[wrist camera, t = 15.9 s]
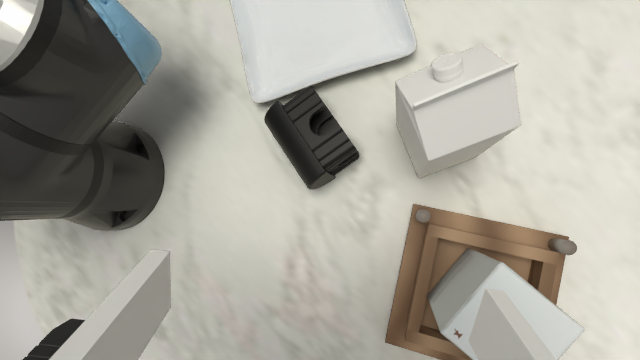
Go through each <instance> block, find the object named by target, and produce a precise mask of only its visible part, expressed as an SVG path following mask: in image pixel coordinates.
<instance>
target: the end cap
mask: <svg viewBox="0 0 640 360" xmlns="http://www.w3.org/2000/svg"><path fill="white" fill-rule="evenodd" d="M265 123H266V125H267V126H268V128H269V129H270V131H271V132H272V134H273V136H274V137H275V139H276V140H277V142H278V143H279V145H280V146H281V148H282V149H283V151H284V152H285V154H286V155H287V157H288V158H289V160H290V161H291V163H292V165H293V166H294V168H295V169H296V171H297V172H298V174H299V175H300V177H301V178H302V180H303V181H304V183H305V184H306V186H307V187H308V188H309V189H316V188H318V187H320V186H322V185H324V184H326V183H328V182H329V181H331V180H333V179H334V178H336V177H335V174H337V173H338V172H339V171H341V170H342V169H344V168H345V167H347V166H348V165H349V164H351V163H352V162H354V161H355V160H357V159H358V158H359V152H358V151H357V149H356V148H355V147H354V145H353V144H352V142H351V141H350V139H349V138H348V137H347V135H346V134H345V132H344V131H343V130H342V128H341V127H340V125H339V124H338V123H337V121H336V120H335V118H334V117H333V115H332V114H331V113H330V111H329V110H328V108H327V107H326V105H325V104H324V103H323V101H322V100H321V98H320V97H319V95H318V94H317V93H316V91H315V90H314V88H313V87H312V86H311V85H310V86H309V87H308V88H306V89H305V90H304V91H302V92H301V93H300V94H298V95H297V96H296V97H294V98H293V99H292V100H290V101H289V102H288V103H286V104H285V105H284V106H283V105H282V104H281V103H280V102H279V101H277V102H276V103H274V104H273V105H272V106H271V107H270V109H269V110H268V111H267V113H266V115H265Z"/></svg>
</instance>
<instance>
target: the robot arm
mask: <svg viewBox="0 0 640 360" xmlns="http://www.w3.org/2000/svg"><path fill="white" fill-rule="evenodd" d="M160 58H161V46H160V44H159V42H158V40H157V39H156V38H155V37H154V36H153V35H152V34H151V33H150V32H149V31H148V30H147V29H146V28H145V27H144V26H143V25H142V24H141V23H140V22H139V21H138V20H137V19H136V18H135V17H134V16H133V15H132V14H131V13H130V12H129V11H128V10H127V9H126V8H125V7H123V6H122V5H121V4H120V3H119V2H118V1H117V0H0V221H3V220H4V221H5V220H30V219H60V218H63V219H66V220H69V221H71V222H74V223H77V224H80V225H83V226H86V227H89V228H92V229H96V230H120V229H126V228H129V227H131V226H134V225H136V224H137V223H139V222H140V221H142V220H143V219H144V218H145V217H146V216H147V215H148V214H149V213H150V212H151V211H152V209H153V208H154V206H155V205H156V203H157V201H158V199H159V196H160V194H161V191H162V187H163V181H164V166H163V160H162V157H161V154H160V151H159V149H158V147H157V145H156V144H155V142H154V141H153V140H152V139H151V137H150V136H149V135H147V134H146V133H145V132H143V131H142V130H140V129H138V128H135V127H132V126H129V125H126V124H123V123H117V122H112V121H113V120H114V118H115V117H116V116H117V115H118V114H119V113H120V111H121V110H122V109H123V108H124V107H125V105H126V104H127V103H128V102H129V101H130V100H131V98H132V97H133V96H134V95H135V94H136V93H137V91H138V90H139V89H140V88H141V87H142V86H143V85H145V84H146V82H147V78H148V76H149V75H150V74H151V72H152V71H153V69H154V68H155V67H156V65H157V64H158V63H159V61H160ZM170 308H171V284H170V251H161V250H153V249H151V250H150V251H149V252H148V253H147V254H146V255H145V256H144V258H143V259H142V260H141V261H140V262H139V263H138V264H137V265H136V266H135V267H134V268H133V269H132V271H131V272H130V273H129V274H128V275H127V276H126V277H125V278H124V279H123V280H122V281H121V282H120V283H119V285H118V286H117V287H116V288H115V289H114V290H113V291H112V292H111V293H110V294H109V295H108V296H107V298H106V299H105V300H104V301H103V302H102V303H101V304H100V305H99V306H98V307H97V308H96V309H95V310H94V312H93V313H92V314H91V315H90V316H89V317H88V318H87V319H86V320H78V319H70V320H68V321H66V322H65V323H63V324H61V325H60V326H58V327H56V328H55V329H53V330H52V331H51V332H50V333H49V334H48V335H47V336H46V337H45V338H44V339H43V340H42V341H41V342H40V343H39V345H38V346H36V347H35V348H34V349H33V350H32V351H31V352H30V353H29V354H28V356H27V357H25V358H24V359H23V360H138V358H139V357H140V355H141V354H142V352H143V350H144V349H145V347H146V346H147V344H148V343H149V341H150V339H151V338H152V336H153V335H154V333H155V331H156V330H157V328H158V327H159V325H160V323H161V322H162V320H163V319H164V317H165V316H166V314H167V312H168V311H169V309H170ZM469 343H470V345H471V347H472V349H473V351H474V353H475V355H476V357H477V359H478V360H556V359H555V357H554V356H553V355H552V353H551V352H550V351H549V349H548V348H547V347H546V346H545V344H544V343H543V342H542V340H541V339H540V338H539V336H538V335H537V334H536V332H535V331H534V330H533V328H532V327H531V326H530V325H529V323H528V322H527V321H526V319H525V318H524V317H523V315H522V314H521V313H520V311H519V310H518V309H517V307H516V306H515V305H514V303H513V302H512V301H511V300H510V298H509V297H508V296H507V294H506V293H505V292H504V290H495V289H487V288H485V292H484V295H483V298H482V301H481V304H480V307H479V310H478V313H477V316H476V319H475V322H474V326H473V329H472V332H471V335H470V338H469Z"/></svg>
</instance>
